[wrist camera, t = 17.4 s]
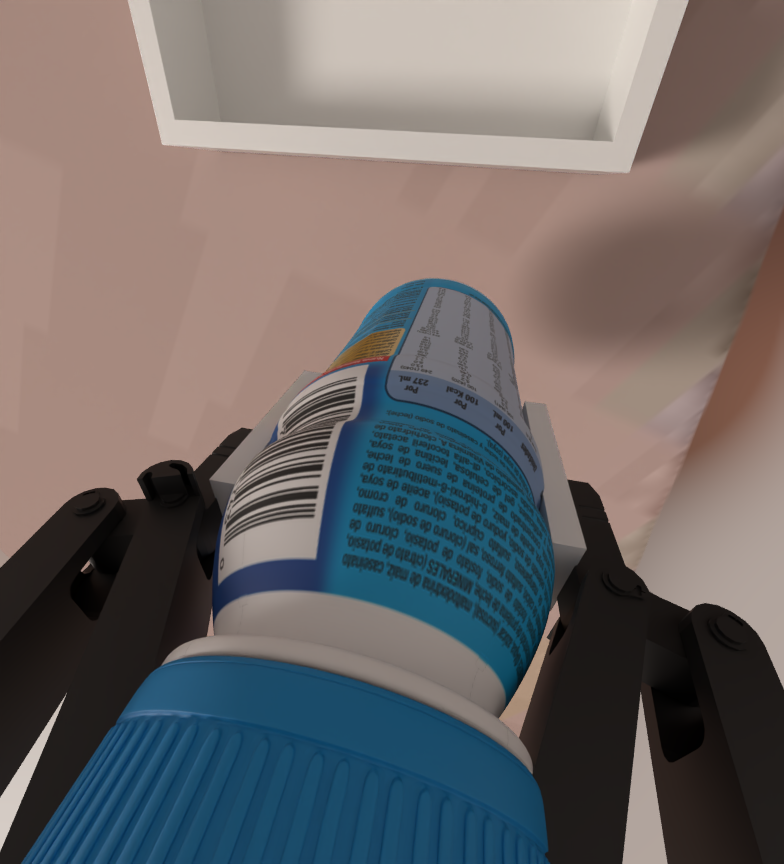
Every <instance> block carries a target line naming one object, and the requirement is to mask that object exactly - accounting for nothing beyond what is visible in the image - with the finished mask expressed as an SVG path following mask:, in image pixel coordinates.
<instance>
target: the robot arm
mask: <svg viewBox="0 0 784 864" xmlns="http://www.w3.org/2000/svg"><path fill="white" fill-rule="evenodd" d="M321 374H322V373H317V372H310V371H304V372H303V373H302V374H301V375H300V376H299V378H298V379H297V380H296V381H295V382H294V383H293V384H292V386H291V387H290V388H289V389H288V390H287V391H286V392H285V394H284V395H283V396H282V397H281V398H280V399H279V400H278V402H277V403H276V404H275V405H274V406H273V407H272V408H271V410H270V411H269V412H268V413H267V414H266V415H265V416H264V418H263V419H262V420H261V421H260V422H259V423H258V424H257V426H256V427H255V428H254V429H247V428H241V429H239V430H237V431H235V432H234V433H232V434H230V435H228V437H227V438H226V439H225V440H224V441H223V442H222V443H221V444H220V446H219V447H217V448H216V449H215V450H214V451H213V452H212V455H209V457H208V458H207V459H206V460H205V461H204V462H203V463H202V464H201V465H200V466H199V467H198V468H197V469H196V470H195V471H193V468H192V467H191V465H190V464H189V463H187V462H184V461H181V460H170V461H165V462H160V463H158V464H155V465H153V466H151V467H149V468H148V469H146V470H145V471H143V472H142V473H141V474H140V476H139V477H138V478H137V481H138V483H139V485H140V487H141V489H142V491H143V493H144V495H145V497H146V499H135V500H121V498H120V496H119V494H118V493H117V492H116V491H115V490H114V489H110V488H95V489H92V490H88V491H85V492H83V493H80V494H78V495H76V496H74V497H73V498H71V499H70V500H69V501H68V502H66V503H65V504H64V505H63V506H62V507H61V508H60V509H59V510H58V511H57V512H56V513H55V514H54V515H53V516H52V517H51V518H50V519H49V520H48V521H47V522H46V523H45V524H44V525H43V526H42V527H41V528H40V529H39V530H38V531H37V532H36V533H35V534H34V535H33V536H32V537H31V538H30V539H29V540H28V541H27V542H26V543H25V544H24V545H23V546H22V547H21V548H20V549H19V550H18V551H17V552H16V553H15V554H14V555H13V556H12V557H11V558H10V559H9V560H8V561H7V562H6V563H5V564H4V565H3V566H2V567H1V568H0V797H1V795H2V794H3V792H4V790H5V789H6V787H7V786H8V784H9V783H10V781H11V780H12V778H13V777H14V775H15V773H16V772H17V770H18V769H19V767H20V766H21V764H22V762H23V761H24V759H25V758H26V756H27V755H28V753H29V751H30V750H31V748H32V747H33V745H34V744H35V742H36V740H37V739H38V737H39V736H40V734H41V733H42V731H43V730H44V728H45V726H46V725H47V723H48V722H49V720H50V719H51V717H52V715H53V714H54V712H55V711H56V709H57V708H58V706H59V704H60V703H61V701H62V700H63V698H64V697H65V695H66V697H65V700H64V702H63V704H62V706H61V709H60V711H59V714H58V716H57V718H56V721H55V723H54V725H53V728H52V730H51V733H50V735H49V737H48V740H47V742H46V744H45V747H44V749H43V751H42V754H41V756H40V759H39V761H38V764H37V766H36V768H35V771H34V773H33V775H32V778H31V780H30V783H29V785H28V787H27V790H26V792H25V794H24V797H23V799H22V801H21V804H20V806H19V809H18V811H17V814H16V816H15V818H14V821H13V823H12V825H11V828H10V830H9V832H8V835H7V837H6V839H5V842H4V844H3V847H2V849H1V851H0V864H21V863H22V861H23V860H24V858H25V857H26V855H27V854H28V852H29V851H30V849H31V848H32V846H33V845H34V843H35V842H36V840H37V839H38V837H39V836H40V834H41V833H42V831H43V830H44V828H45V827H46V825H47V824H48V822H49V821H50V819H51V818H52V816H53V815H54V813H55V811H56V810H57V808H58V807H59V805H60V804H61V802H62V801H63V799H64V798H65V796H66V795H67V793H68V792H69V790H70V789H71V787H72V786H73V784H74V783H75V781H76V780H77V778H78V777H79V775H80V774H81V772H82V771H83V769H84V768H85V766H86V765H87V763H88V762H89V760H90V759H91V757H92V756H93V754H94V753H95V751H96V750H97V748H98V747H99V745H100V743H101V742H102V740H103V739H104V737H105V736H106V734H107V733H108V731H109V730H110V729H111V728H112V727H114V726H115V725H116V722H117V720H118V718H119V717H120V715H121V714H122V712H123V711H124V709H125V708H126V706H127V704H128V703H129V701H130V700H131V699H132V697H133V696H134V694H135V693H136V691H137V690H138V688H139V687H140V686H141V684H142V683H143V682H144V680H145V679H146V678H147V677H148V676H149V675H150V674H151V673H152V672H153V671H154V670H156V669H157V668H159V667H160V666H161V665H162V663H163V662H164V661H165V659H166V658H167V656H168V655H169V654H170V653H171V652H172V651H173V650H175V649H176V648H177V647H179V646H181V645H182V644H184V643H187V642H189V641H192V640H195V639H199V638H203V637H207V632H208V626H209V621H210V615H211V609H212V583H213V566H214V556H215V548H216V541H217V536H218V531H219V527H220V524H221V520H222V517H223V513H224V510H225V507H226V504H227V502H228V499H229V496H230V494H231V492H232V489H233V487H234V485H235V483H236V481H237V480H238V478H239V476H240V475H241V473H242V472H243V470H244V469H245V468H246V466H247V465H248V464H249V463H250V461H251V460H252V459H253V458H254V457H255V456H256V455H257V454H259V453H260V452H261V451H262V450H263V449H265V448H266V447H267V446H269V443H270V439H271V437H272V434H273V432H274V429H275V427H276V425H277V423H278V421H279V420H280V418H281V416H282V415H283V413H284V412H285V410H286V409H287V407H288V406H289V405H290V403H291V402H292V401H293V399H294V398H295V397H296V396H297V395H298V393H299V392H300V391H301V390H302V389H303V388H304V387H305V386H307V385H308V384H309V383H310V382H311V381H313V380H314V379H315V378H317V377H318V376H320V375H321ZM522 412H523V417H524V421H525V423H526V425H527V426H528V428H529V430H530V431H531V433H532V435H533V438H534V440H535V442H536V445H537V448H538V451H539V454H540V458H541V463H542V469H543V476H544V492H543V495H542V500H541V506H540V511H539V512H540V514H541V516H542V518H543V519H544V522H545V524H546V526H547V529H548V531H549V534H550V537H551V541H552V545H553V551H554V559H555V578H554V588H553V595H552V601H551V606H550V611H551V610H552V608H553V606H554V604H555V603H556V601H558V606H559V612H560V617H559V619H558V620H557V622H556V623H555V625H554V627H553V628H552V630H551V631H550V633H549V635H548V636H547V638H548V639H549V640H550V642H549V645H548V648H547V651H546V654H545V658H544V661H543V664H542V667H541V670H540V673H539V676H538V680H537V683H536V686H535V689H534V692H533V695H532V698H531V702H530V705H529V708H528V711H527V714H526V717H525V720H524V724H523V727H522V730H521V733H520V736H519V739H520V740H521V741H522V743H523V744H524V746H525V747H526V749H527V751H528V753H529V755H530V757H531V760H532V764H533V774H532V775H533V777H534V779H535V780H536V782H537V784H538V786H539V788H540V791H541V792H540V793H541V796H542V800H543V805H544V813H545V821H546V830H547V840H548V852H546V853H545V856H546V858H547V859H548V861H549V862H550V864H622V861H623V851H624V842H625V832H626V823H627V813H628V804H629V795H630V785H631V776H632V767H633V758H634V747H635V739H636V729H637V720H638V710H639V701H640V692H641V695H642V702H643V708H644V715H645V721H646V727H647V734H648V740H649V747H650V753H651V759H652V766H653V772H654V778H655V785H656V792H657V798H658V804H659V811H660V817H661V824H662V830H663V837H664V843H665V850H666V855H667V862H668V864H784V689H783V686H782V684H781V682H780V680H779V677H778V675H777V673H776V670H775V668H774V666H773V663H772V661H771V659H770V656H769V654H768V652H767V650H766V647H765V645H764V644H763V642H762V640H761V639H760V637H759V636H758V634H757V633H756V632H755V631H754V630H753V629H752V627H750V625H748V623H746V621H744V620H743V619H741V618H740V617H739V616H737V615H736V614H734V613H733V612H731V611H729V610H727V609H725V608H722V607H720V606H718V605H713V604H707V603H704V604H700V605H696V606H695V607H694V608H693V609H692V610H691V611H689V610H687V609H684V608H682V607H680V606H678V605H676V604H673V603H671V602H669V601H667V600H664V599H662V598H660V597H658V596H656V595H654V594H653V593H651V592H649V590H648V588H647V586H646V585H645V583H644V581H643V580H642V579H641V578H640V577H639V576H638V575H637V574H636V573H635V572H634V571H633V570H631V569H629V568H628V567H626V566H625V564H624V561H623V558H622V556H621V553H620V550H619V547H618V545H617V542H616V539H615V537H614V534H613V531H612V528H611V526H610V523H608V521H609V520H608V518H607V515H606V512H604V507H603V504H602V501H601V499H600V496H599V495H598V494H597V492H596V491H595V490H594V489H593V488H592V487H591V486H590V484H589V483H585V482H579V481H573V480H567V477H566V474H565V470H564V467H563V463H562V460H561V456H560V453H559V449H558V446H557V442H556V438H555V435H554V431H553V428H552V424H551V421H550V417H549V414H548V410H547V407H546V404H541V403H534V402H526V401H525V403H524V406H523V409H522ZM88 560H89V562H90V565H89V566H88V567H87V568H86V569H85V570H84V571H83V572H81V569H82V568H83V567H84V566H85V564H86V563H87V562H88ZM66 693H67V694H66Z"/></svg>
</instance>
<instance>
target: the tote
mask: <svg viewBox="0 0 784 864" xmlns="http://www.w3.org/2000/svg"><path fill="white" fill-rule="evenodd" d="M688 1H689V0H128V3H129V7H130V11H131V15H132V20H133V24H134V28H135V32H136V36H137V40H138V45H139V49H140V53H141V57H142V61H143V66H144V70H145V74H146V78H147V82H148V86H149V91H150V95H151V99H152V103H153V107H154V112H155V116H156V120H157V124H158V128H159V132H160V137H161V141H162V145H169V146H177V147H186V148H195V149H204V150H212V151H222V152H238V153H255V154H271V155H287V156H303V157H320V158H336V159H352V160H368V161H385V162H401V163H417V164H433V165H450V166H466V167H482V168H498V169H515V170H531V171H547V172H563V173H580V174H596V175H601V174H619V173H629V172H630V169H631V166H632V163H633V160H634V157H635V154H636V151H637V148H638V146H639V143H640V140H641V137H642V134H643V131H644V128H645V125H646V122H647V120H648V117H649V114H650V111H651V108H652V105H653V102H654V99H655V96H656V94H657V91H658V88H659V85H660V82H661V79H662V76H663V73H664V70H665V68H666V65H667V62H668V59H669V56H670V53H671V50H672V47H673V44H674V42H675V39H676V36H677V33H678V30H679V27H680V24H681V21H682V19H683V16H684V13H685V10H686V7H687V4H688Z"/></svg>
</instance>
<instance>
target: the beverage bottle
mask: <svg viewBox="0 0 784 864" xmlns="http://www.w3.org/2000/svg"><path fill="white" fill-rule="evenodd" d="M543 492H544V476H543V469H542V463H541V458H540V454H539V451H538V448H537V445H536V442H535V440H534V438H533V435H532V433H531V431H530V430H529V428H528V426H527V425H526V423H525V421H524V417H523V412H522V406H521V401H520V396H519V391H518V386H517V380H516V375H515V369H514V348H513V342H512V337H511V333H510V330H509V327H508V325H507V323H506V321H505V319H504V317H503V315H502V314H501V312H500V311H499V309H498V308H497V307H496V306H495V305H494V303H493V302H492V301H491V300H490V299H488V298H487V297H486V296H485V295H484V294H482V293H481V292H479V291H478V290H476V289H475V288H473V287H471V286H469V285H466V284H464V283H461V282H458V281H454V280H450V279H443V278H425V279H419V280H414V281H411V282H408V283H405V284H403V285H400V286H398V287H396V288H394V289H393V290H391V291H390V292H388V293H387V294H385V295H384V296H383V297H382V298H381V299H380V300H379V301H378V302H377V303H376V304H375V305H374V306H373V307H372V309H371V310H370V311H369V313H368V314H367V315H366V317H365V318H364V320H363V322H362V324H361V325H360V327H359V329H358V330H357V332H356V333H355V334H354V336H353V337H352V339H351V340H350V341H349V342H348V344H347V345H346V346H345V348H344V349H343V350H342V351H341V353H340V354H339V355H338V357H337V358H336V359H335V360H334V362H333V363H332V364H331V365H330V367H329V368H328V369H327V371H326V372H325V373H323V374H321V375H320V376H318V377H317V378H315V379H314V380H313V381H311V382H310V383H309V384H308V385H307V386H305V387H304V388H303V389H302V390H301V391H300V392H299V393H298V395H297V396H296V397H295V398H294V399H293V401H292V402H291V403H290V405H289V406H288V407H287V409H286V410H285V412H284V413H283V415H282V416H281V418H280V420H279V421H278V423H277V425H276V427H275V429H274V432H273V434H272V437H271V439H270V443H269V446H267V447H266V448H265V449H263V450H262V451H261V452H260V453H259V454H257V455H256V456H255V457H254V458H253V459H252V460H251V461H250V463H249V464H248V465H247V466H246V468H245V469H244V470H243V472H242V473H241V475H240V476H239V478H238V480H237V481H236V483H235V485H234V487H233V489H232V492H231V494H230V496H229V499H228V502H227V504H226V507H225V510H224V513H223V517H222V520H221V524H220V527H219V531H218V536H217V541H216V548H215V556H214V566H213V583H212V611H213V628H214V636H208V637H203V638H199V639H195V640H192V641H189V642H187V643H184V644H182V645H181V646H179V647H177V648H176V649H175V650H173V651H172V652H171V653H170V654H169V655H168V656H167V658H166V659H165V661H164V662H163V663H162V665H161V666H160V667H159V668H157V669H156V670H154V671H153V672H152V673H151V674H150V675H149V676H148V677H147V678H146V679H145V680H144V682H143V683H142V684H141V686H140V687H139V688H138V690H137V691H136V693H135V694H134V696H133V697H132V699H131V700H130V701H129V703H128V704H127V706H126V708H125V709H124V711H123V712H122V714H121V715H120V717H119V718H118V720H117V722H116V725H115V726H114V727H112V728H111V729H110V730H109V731H108V733H107V734H106V736H105V737H104V739H103V740H102V742H101V743H100V745H99V747H98V748H97V750H96V751H95V753H94V754H93V756H92V757H91V759H90V760H89V762H88V763H87V765H86V766H85V768H84V769H83V771H82V772H81V774H80V775H79V777H78V778H77V780H76V781H75V783H74V784H73V786H72V787H71V789H70V790H69V792H68V793H67V795H66V796H65V798H64V799H63V801H62V802H61V804H60V805H59V807H58V808H57V810H56V811H55V813H54V815H53V816H52V818H51V819H50V821H49V822H48V824H47V825H46V827H45V828H44V830H43V831H42V833H41V834H40V836H39V837H38V839H37V840H36V842H35V843H34V845H33V846H32V848H31V849H30V851H29V852H28V854H27V855H26V857H25V858H24V860H23V861H22V863H21V864H550V862H549V861H548V859H547V858H546V856H545V853H546V852H548V840H547V830H546V821H545V813H544V805H543V800H542V796H541V793H540V792H541V791H540V788H539V786H538V784H537V782H536V780H535V779H534V777H533V775H532V774H533V764H532V760H531V757H530V755H529V753H528V751H527V749H526V747H525V746H524V744H523V743H522V741H521V740H520V739H519V738H518V737H517V736H516V734H515V733H514V732H513V731H512V730H511V729H510V728H509V727H507V726H506V725H505V724H504V723H503V722H502V721H500V720H499V717H500V716H501V714H502V713H503V711H504V710H505V708H506V707H507V705H508V704H509V702H510V701H511V699H512V697H513V696H514V694H515V692H516V691H517V689H518V687H519V685H520V684H521V682H522V680H523V678H524V676H525V674H526V672H527V670H528V668H529V666H530V664H531V662H532V660H533V658H534V655H535V653H536V651H537V648H538V646H539V644H540V641H541V638H542V636H543V633H544V630H545V627H546V623H547V620H548V615H549V611H550V606H551V601H552V595H553V588H554V578H555V559H554V551H553V545H552V541H551V537H550V534H549V531H548V529H547V526H546V524H545V522H544V519H543V518H542V516H541V514H540V512H539V511H540V506H541V500H542V495H543Z"/></svg>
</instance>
